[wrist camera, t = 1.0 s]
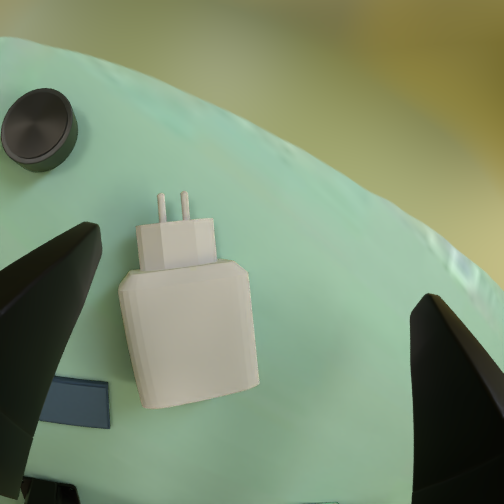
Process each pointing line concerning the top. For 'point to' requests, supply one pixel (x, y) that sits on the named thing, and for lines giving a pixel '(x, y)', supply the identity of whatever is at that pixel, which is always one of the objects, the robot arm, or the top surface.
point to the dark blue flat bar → (77, 403)
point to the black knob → (39, 130)
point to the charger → (187, 315)
